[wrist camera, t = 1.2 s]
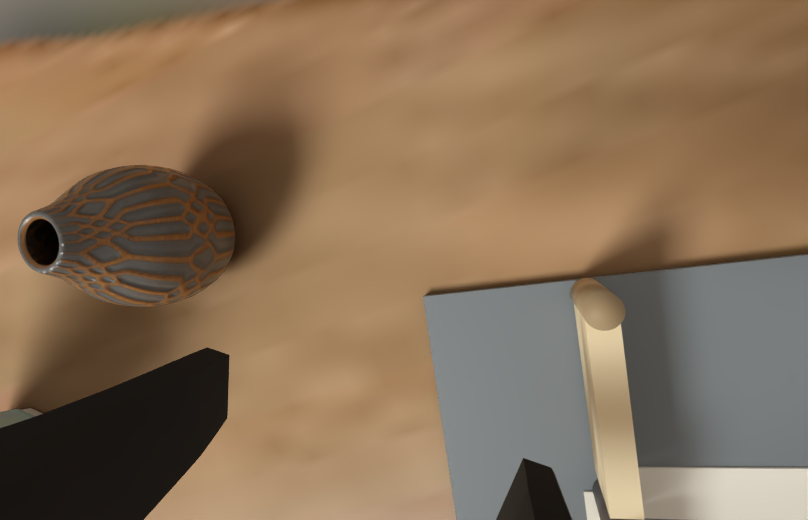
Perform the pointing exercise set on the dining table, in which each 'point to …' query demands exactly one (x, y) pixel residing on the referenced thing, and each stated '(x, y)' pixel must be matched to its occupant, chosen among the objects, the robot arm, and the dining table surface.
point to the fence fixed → (602, 503)
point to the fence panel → (608, 397)
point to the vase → (132, 236)
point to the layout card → (635, 390)
